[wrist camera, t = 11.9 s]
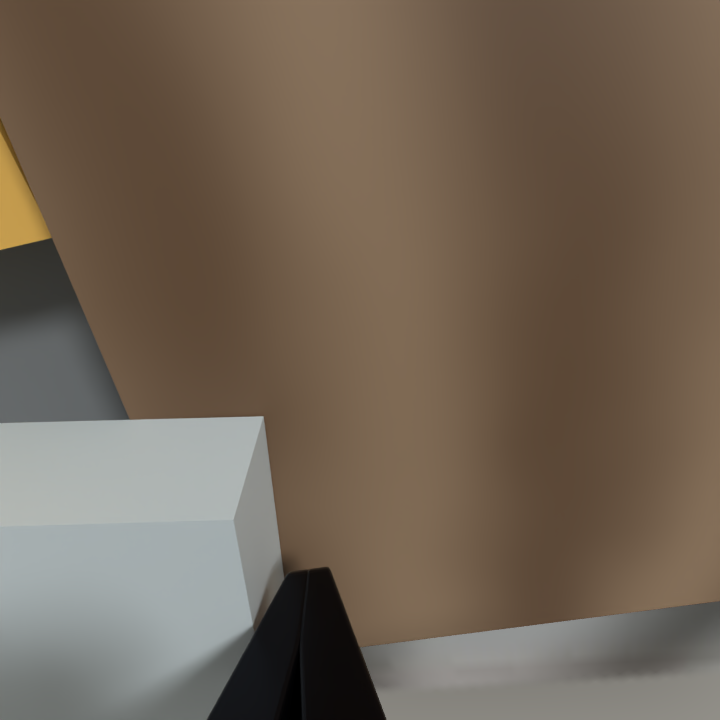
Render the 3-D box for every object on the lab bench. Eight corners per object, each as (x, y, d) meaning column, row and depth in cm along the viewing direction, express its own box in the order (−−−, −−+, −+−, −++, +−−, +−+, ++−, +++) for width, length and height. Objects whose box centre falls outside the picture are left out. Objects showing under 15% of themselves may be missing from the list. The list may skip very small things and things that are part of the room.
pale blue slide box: (263, 416, 8) (233, 519, 6) (286, 598, 11) (270, 722, 8) (-184, 427, 8) (-380, 537, 6) (-66, 609, 10) (-178, 739, 8)
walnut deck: (1026, -448, 7) (1761, -1066, 3) (742, 474, 15) (870, 581, 11) (-5, -274, 7) (-340, -674, 4) (258, 538, 15) (234, 663, 12)
